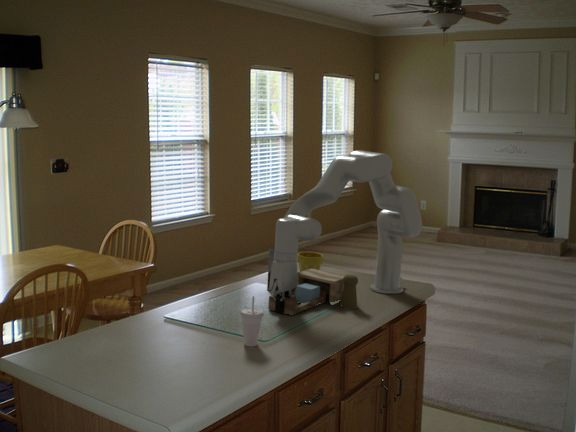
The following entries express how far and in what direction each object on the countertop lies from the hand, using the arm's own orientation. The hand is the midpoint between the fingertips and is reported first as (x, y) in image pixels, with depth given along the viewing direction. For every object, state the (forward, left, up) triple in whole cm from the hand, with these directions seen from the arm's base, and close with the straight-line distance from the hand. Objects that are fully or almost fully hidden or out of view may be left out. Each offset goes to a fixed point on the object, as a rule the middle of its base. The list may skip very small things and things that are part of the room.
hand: (282, 310), depth 216 cm
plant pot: (-46, -19, -1) cm, 49 cm away
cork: (-22, +12, -1) cm, 26 cm away
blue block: (-15, 0, -1) cm, 15 cm away
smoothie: (+31, +10, -1) cm, 33 cm away
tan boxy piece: (-24, 0, -1) cm, 25 cm away
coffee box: (-23, -17, -1) cm, 28 cm away
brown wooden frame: (-9, 0, 0) cm, 9 cm away
